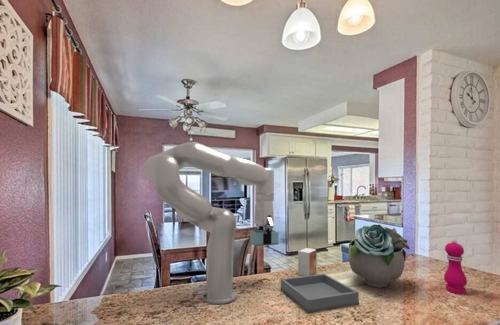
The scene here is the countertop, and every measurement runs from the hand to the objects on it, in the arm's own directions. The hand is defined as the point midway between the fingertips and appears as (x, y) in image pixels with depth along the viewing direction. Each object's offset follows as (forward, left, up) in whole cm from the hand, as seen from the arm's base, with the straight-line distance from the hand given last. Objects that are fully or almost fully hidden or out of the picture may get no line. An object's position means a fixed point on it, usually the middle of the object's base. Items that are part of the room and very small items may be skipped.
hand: (264, 241), depth 114 cm
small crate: (0, 0, -1) cm, 1 cm away
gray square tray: (+14, -17, -17) cm, 28 cm away
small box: (+24, +6, -17) cm, 30 cm away
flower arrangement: (+44, -14, -17) cm, 49 cm away
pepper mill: (+68, -30, -17) cm, 76 cm away
